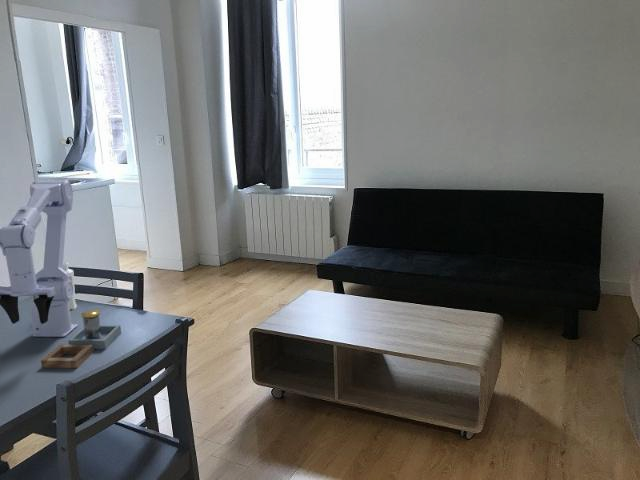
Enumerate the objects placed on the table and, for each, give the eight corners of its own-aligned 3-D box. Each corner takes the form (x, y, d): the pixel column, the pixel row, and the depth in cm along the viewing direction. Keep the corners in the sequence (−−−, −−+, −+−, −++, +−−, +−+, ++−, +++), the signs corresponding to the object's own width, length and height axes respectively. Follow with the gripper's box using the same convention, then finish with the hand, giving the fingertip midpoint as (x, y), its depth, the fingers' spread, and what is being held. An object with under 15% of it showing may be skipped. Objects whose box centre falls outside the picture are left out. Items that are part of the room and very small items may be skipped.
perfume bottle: (65, 305, 173) (59, 261, 169) (79, 305, 173) (73, 261, 169) (60, 310, 168) (53, 266, 164) (74, 310, 168) (68, 265, 165)
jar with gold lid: (81, 343, 143) (78, 315, 141) (89, 336, 148) (86, 309, 146) (98, 343, 143) (94, 316, 141) (105, 336, 147) (102, 309, 146)
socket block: (42, 367, 132) (40, 360, 131) (60, 351, 140) (59, 344, 140) (77, 368, 131) (76, 360, 131) (94, 351, 140) (93, 344, 139)
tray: (69, 348, 142) (68, 340, 141) (87, 333, 151) (86, 325, 151) (105, 349, 141) (104, 340, 141) (121, 333, 151) (120, 325, 150)
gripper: (-17, 276, 129) (-8, 328, 132) (40, 277, 128) (48, 328, 132) (1, 268, 136) (10, 317, 139) (56, 268, 135) (63, 317, 138)
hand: (30, 322), depth 136 cm, fingers open, 7 cm apart
